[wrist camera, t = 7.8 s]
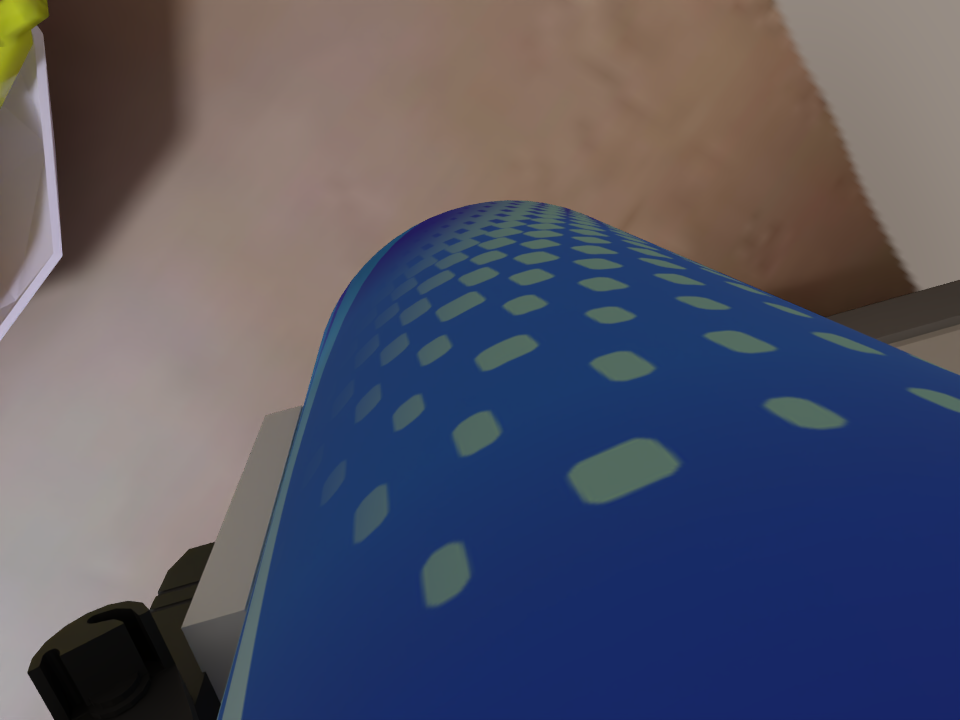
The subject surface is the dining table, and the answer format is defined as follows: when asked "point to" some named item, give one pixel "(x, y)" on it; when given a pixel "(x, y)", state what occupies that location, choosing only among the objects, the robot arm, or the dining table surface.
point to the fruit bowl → (25, 160)
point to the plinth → (914, 324)
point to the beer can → (603, 497)
